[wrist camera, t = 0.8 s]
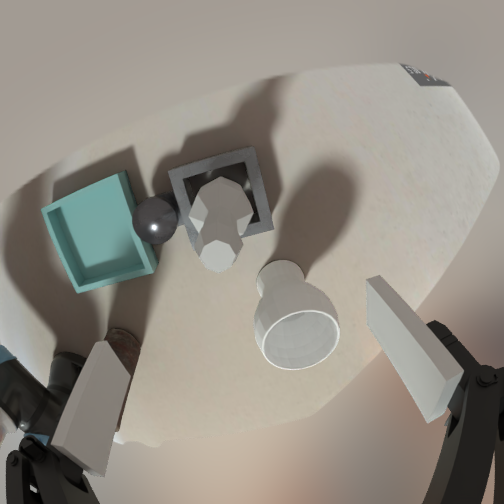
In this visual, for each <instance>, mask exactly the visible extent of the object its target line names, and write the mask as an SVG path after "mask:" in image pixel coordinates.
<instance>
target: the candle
mask: <svg viewBox="0 0 504 504" xmlns="http://www.w3.org/2000/svg"><path fill="white" fill-rule="evenodd" d="M106 340H107V342H108V343H109V345H110V347H111V348H112V350H113V351H114V353H115V354H116V356H117V357H118V359H119V360H120V362H121V363H122V364H123V366H124V367H125V369H126V370H127V372H128V373H129V374H130V376H131V377H130V381H129V384H128V387H127V391H126V394H125V397H124V401H123V404H122V408H121V411H120V415H119V419H118V422H117V426H116V430H115V432H118V431H119V429H120V424H121V419H122V415H123V412H124V408H125V404H126V400H127V397H128V393H129V389H130V385H131V382H132V379H133V375H134V372H135V369H136V365H137V362H138V359H139V355H140V350H141V349H140V345H139V342H138V341H137V340H136V339H135V338H134V337H133V336H132V335H131V334H129V333H127V332H125V331H124V330H120V329H113V328H112V329H110V330H109V331H108V333H107V334H106V337H105V339H104V341H106Z"/></svg>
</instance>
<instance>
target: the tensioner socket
mask: <svg viewBox="0 0 504 504" xmlns="http://www.w3.org/2000/svg"><path fill="white" fill-rule="evenodd" d="M240 162H244V164H245V168H246V171H247V175H248V179H249V183H250V187H251V191H252V195H253V199H254V203H255V207H256V211H257V213H254V214H253V215H252V217H251V219H250V221H249V223H248V226H247V228H246V230H245V232H244V234H243V235H241V236H240V238H243V237H247V236H251V235H254V234H258V233H262V232H266V231H270V230H274V226H273V221H272V217H271V213H270V209H269V204H268V200H267V196H266V192H265V188H264V184H263V180H262V176H261V171H260V167H259V163H258V159H257V155H256V151H255V148H254V146H249V147H245V148H241V149H237V150H233V151H229V152H225V153H222V154H218V155H214V156H211V157H207V158H204V159H201V160H197V161H194V162H191V163H187V164H184V165H181V166H178V167H175V168H173V169H171V170H169V171H168V174H169V177H170V181H171V184H172V187H173V190H171V191H168V192H165V193H162V194H159V195H156V196H154V197H149V198H147V199H145V200H144V201H142V202H141V203H140V204H139V205H138V206H137V207H136V208H135V210H134V212H133V216H132V225H133V229H134V231H135V233H136V234H137V235H138V237H139V238H140V239H142V240H143V241H145V242H147V243H150V244H161V243H164V242H166V241H168V240H169V239H170V238H171V237H172V236H173V234H174V233H175V231H176V229H177V226H180V225H183V224H185V227H186V230H187V233H188V236H189V239H190V242H191V245H192V248H193V250H194V251H195V249H194V245H195V242H196V240H197V237H198V235H199V233H198V231H197V230H196V228H195V226H194V225H193V223H192V221H191V220H190V218H189V213H190V211H191V208H192V206H193V203H194V201H195V198H194V195H193V192H192V188H191V185H190V182H189V178H188V177H190V176H194V175H197V174H200V173H204V172H207V171H211V170H214V169H218V168H221V167H225V166H229V165H233V164H236V163H240Z"/></svg>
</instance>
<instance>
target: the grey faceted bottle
mask: <svg viewBox="0 0 504 504" xmlns="http://www.w3.org/2000/svg"><path fill="white" fill-rule="evenodd" d="M253 213H254V212H253V210H252V207H251V204H250V202H249V200H248V198H247V196H246V195H245V193H244V191H243V189H242V187H241V185H239V184H238V183H236V182H234V181H232V180H229V179H227V178H225V177H222V176H221V177H218V178H217V179H215V180H213V181H211V182H209V183H208V184H206V185H204V186H202V187H201V188H200V190H199V192H198V194H197V196H196V198H195V201H194V203H193V206H192V208H191V211H190V213H189V218H190V220H191V221H192V223H193V225H194V226H195V228H196V230H197V231H198V233H199V235H198V237H197V240H196V242H195V245H194V249H195V251H196V253H197V254H198V256H199V258H200V260H201V261H202V263H203V264H204V266H205V267H206V269H208V270H211V271H214V272H217V273H221V272H223V271H225V270H227V269H229V268H231V266H232V265H233V263H234V262H235V261H236V259H237V257H238V255H239V253H240V250H241V248H242V246H243V242H242V240H241V238H240V236H241V235H243V234H244V232H245V230H246V228H247V226H248V223H249V221H250V219H251V217H252V215H253Z"/></svg>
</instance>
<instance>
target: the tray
mask: <svg viewBox="0 0 504 504" xmlns="http://www.w3.org/2000/svg"><path fill="white" fill-rule="evenodd" d="M136 207H137V203H136V200H135V197H134V194H133V191H132V188H131V185H130V182H129V179H128V175H127V172H126V170H125V171H123V172H120V173H117V174H115V175H112V176H110V177H107V178H105V179H103V180H100V181H98V182H96V183H94V184H91V185H89V186H87V187H85V188H82V189H80V190H78V191H76V192H74V193H72V194H70V195H68V196H66V197H64V198H61V199H59V200H57V201H55V202H54V203H52V204H50V205H48V206H46V207H44V208H42V209H41V212H42V215H43V218H44V220H45V223H46V226H47V228H48V231H49V233H50V236H51V238H52V241H53V243H54V245H55V248H56V250H57V252H58V255H59V257H60V259H61V261H62V264H63V266H64V268H65V270H66V272H67V274H68V276H69V278H70V280H71V282H72V284H73V286H74V288H75V290H76V292H77V293H81V292H85V291H88V290H92V289H96V288H99V287H103V286H107V285H110V284H114V283H118V282H122V281H125V280H129V279H133V278H136V277H140V276H144V275H148V274H151V273H154V271H155V269H156V267H157V265H158V263H159V262H158V259H157V257H156V254H155V252H154V249H153V247H152V244H150V243H147V242H145V241H143V240H142V239H140V238H139V237H138V235H137V234H136V233H135V231H134V229H133V225H132V216H133V212H134V210H135V208H136Z"/></svg>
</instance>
